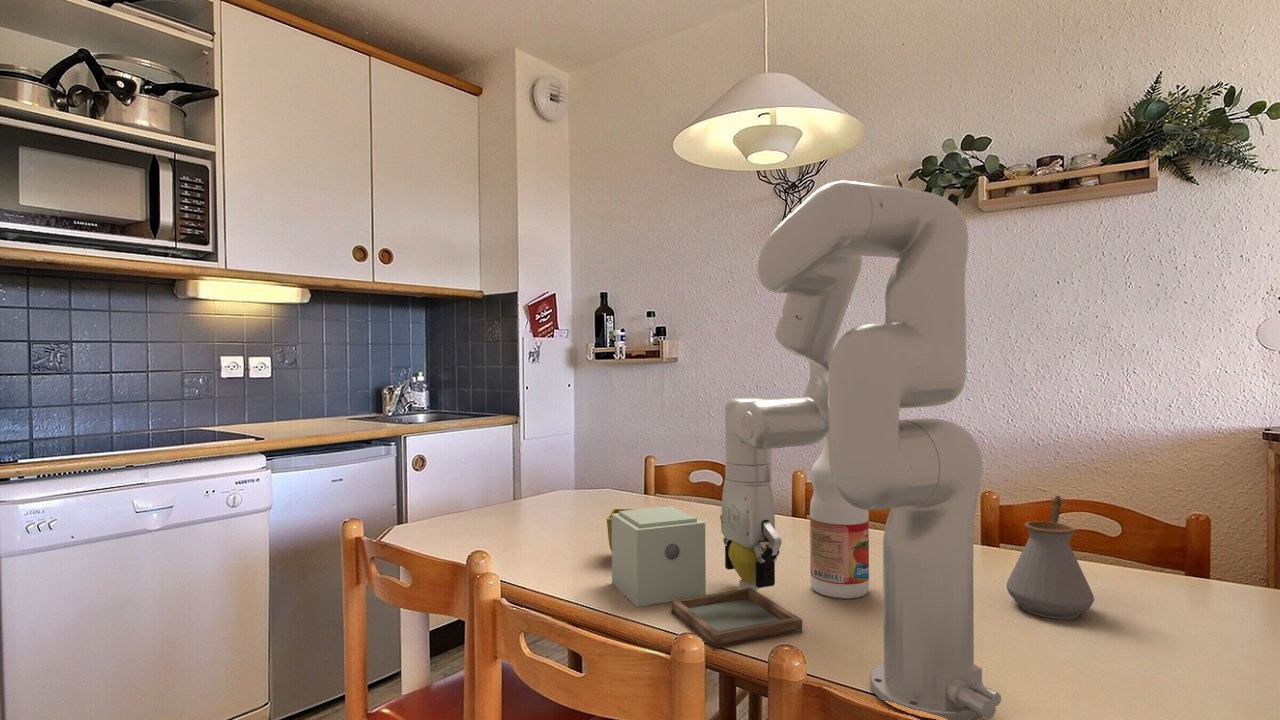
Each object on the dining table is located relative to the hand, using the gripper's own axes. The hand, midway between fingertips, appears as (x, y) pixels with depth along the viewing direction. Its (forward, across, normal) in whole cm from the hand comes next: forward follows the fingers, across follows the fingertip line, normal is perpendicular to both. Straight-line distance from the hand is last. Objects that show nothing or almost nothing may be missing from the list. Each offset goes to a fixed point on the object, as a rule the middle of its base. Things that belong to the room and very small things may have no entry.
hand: (749, 576), depth 109 cm
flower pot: (+3, -25, -11) cm, 27 cm away
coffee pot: (+3, +21, +43) cm, 48 cm away
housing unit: (+3, -8, -13) cm, 16 cm away
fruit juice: (+3, +4, +15) cm, 16 cm away
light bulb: (+3, 0, 0) cm, 3 cm away
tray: (+3, +9, -8) cm, 12 cm away
